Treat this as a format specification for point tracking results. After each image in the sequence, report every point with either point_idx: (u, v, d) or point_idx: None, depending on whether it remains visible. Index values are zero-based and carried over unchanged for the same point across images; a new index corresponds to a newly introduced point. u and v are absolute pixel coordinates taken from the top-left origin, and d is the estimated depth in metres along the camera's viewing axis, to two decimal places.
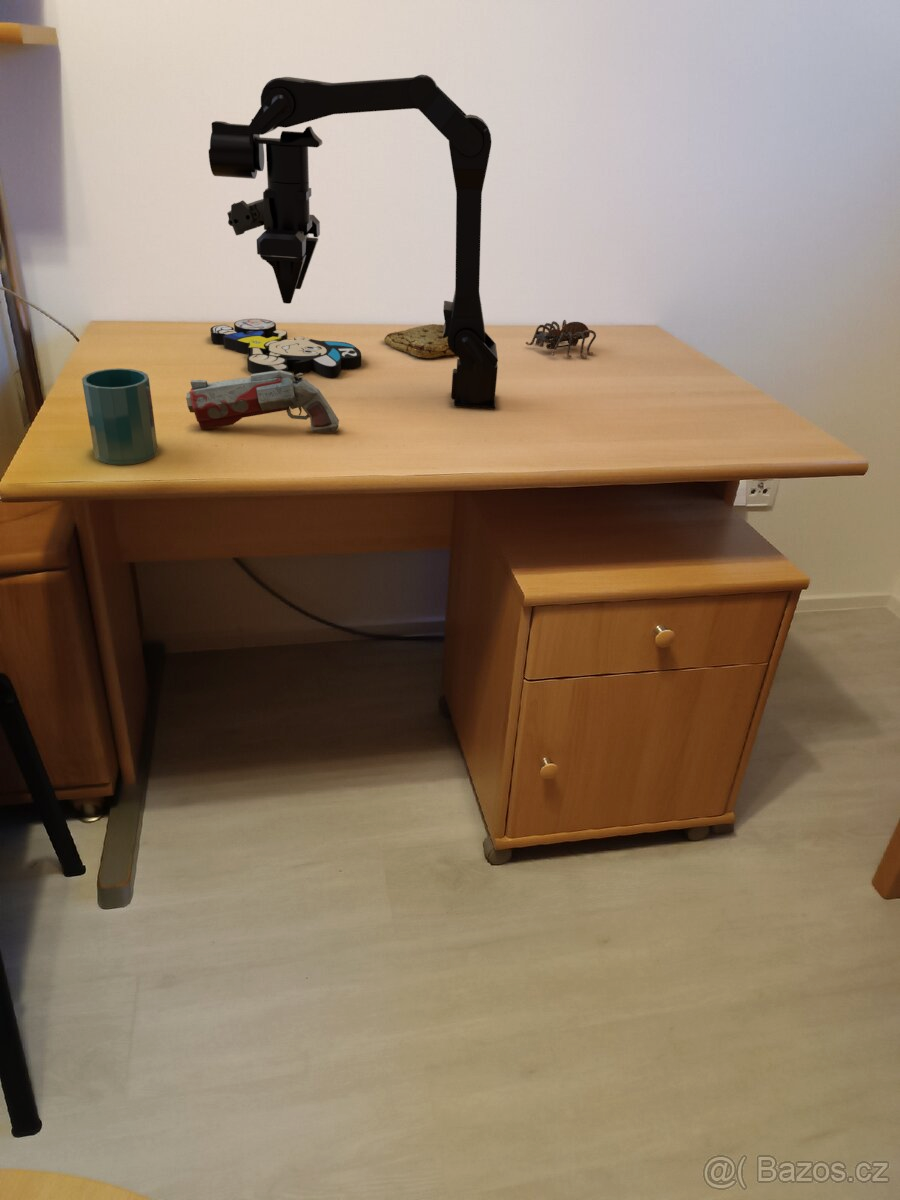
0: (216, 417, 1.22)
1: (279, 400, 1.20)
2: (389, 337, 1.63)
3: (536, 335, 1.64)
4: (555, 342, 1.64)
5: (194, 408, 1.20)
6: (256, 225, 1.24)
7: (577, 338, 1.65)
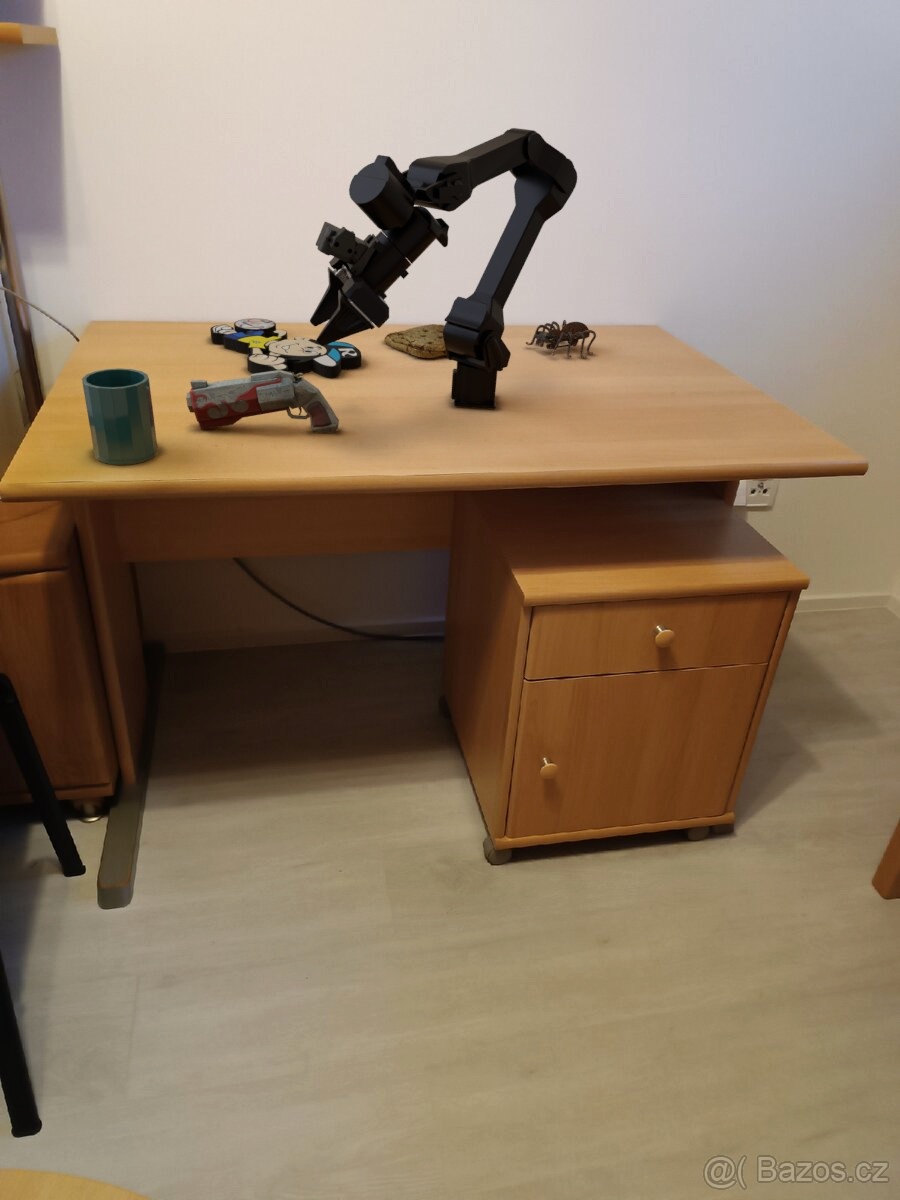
0: (216, 417, 1.22)
1: (279, 400, 1.20)
2: (389, 337, 1.63)
3: (536, 335, 1.64)
4: (555, 342, 1.64)
5: (194, 408, 1.20)
6: (345, 259, 1.13)
7: (577, 338, 1.65)
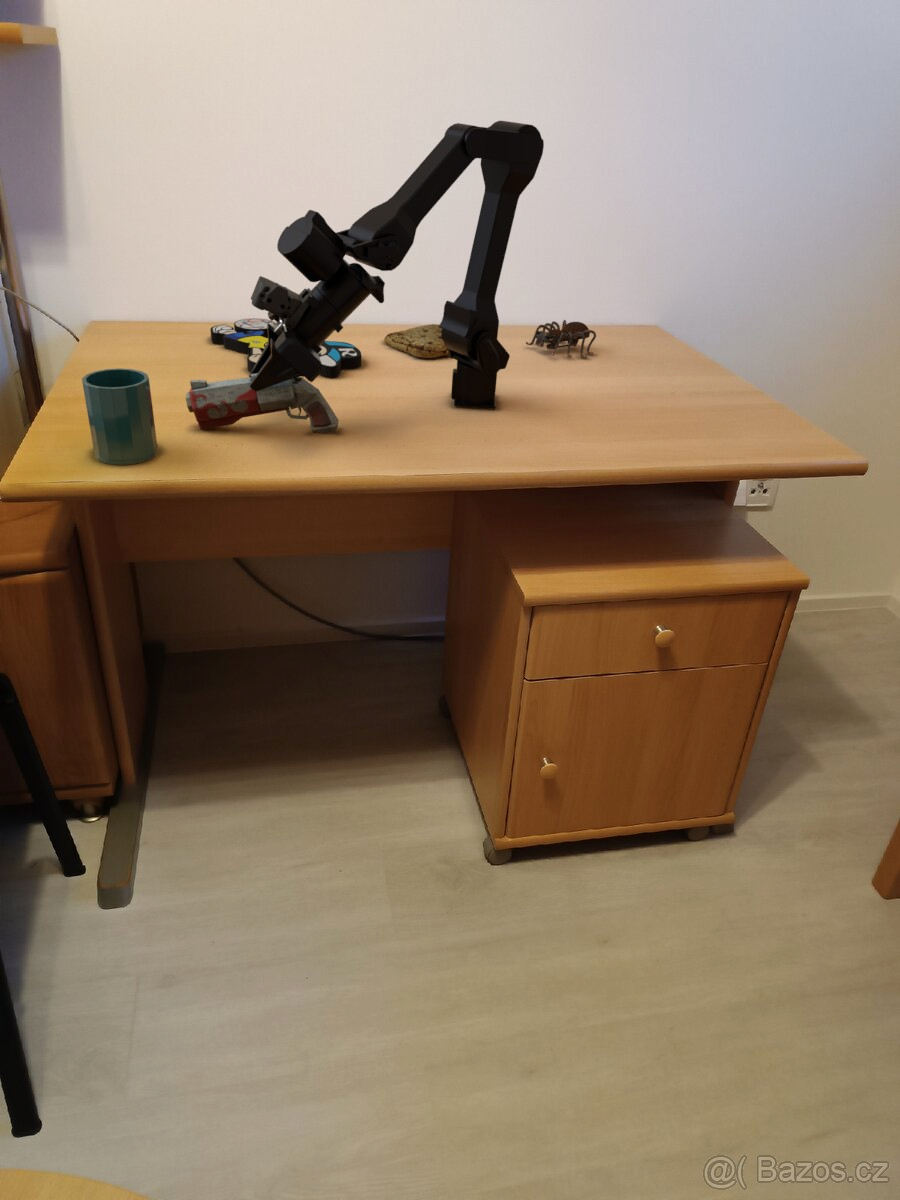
0: (216, 417, 1.22)
1: (279, 400, 1.20)
2: (389, 337, 1.63)
3: (536, 335, 1.64)
4: (555, 342, 1.64)
5: (194, 408, 1.20)
6: (279, 314, 1.14)
7: (577, 338, 1.65)
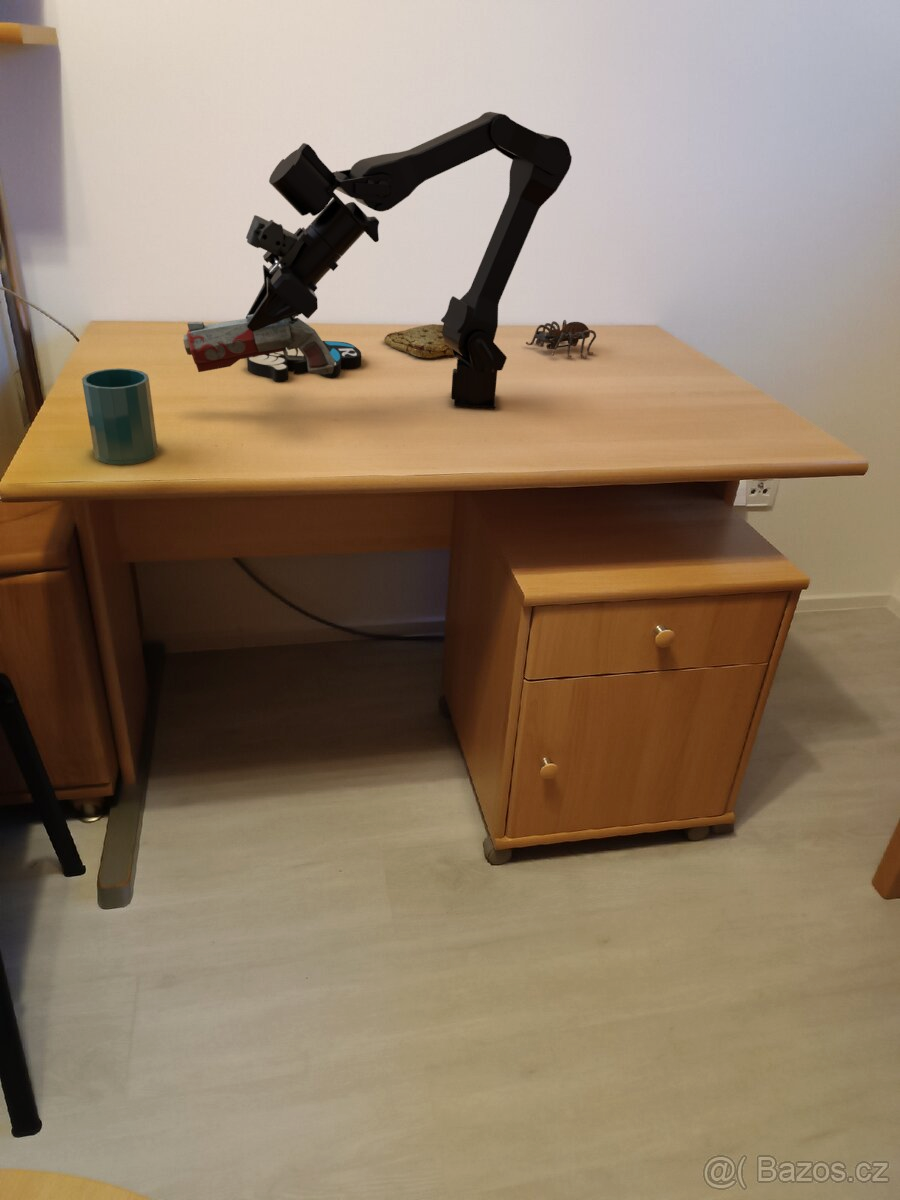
0: (213, 359, 1.23)
1: (276, 340, 1.21)
2: (389, 337, 1.63)
3: (536, 335, 1.64)
4: (555, 342, 1.64)
5: (191, 350, 1.21)
6: (274, 252, 1.16)
7: (577, 338, 1.65)
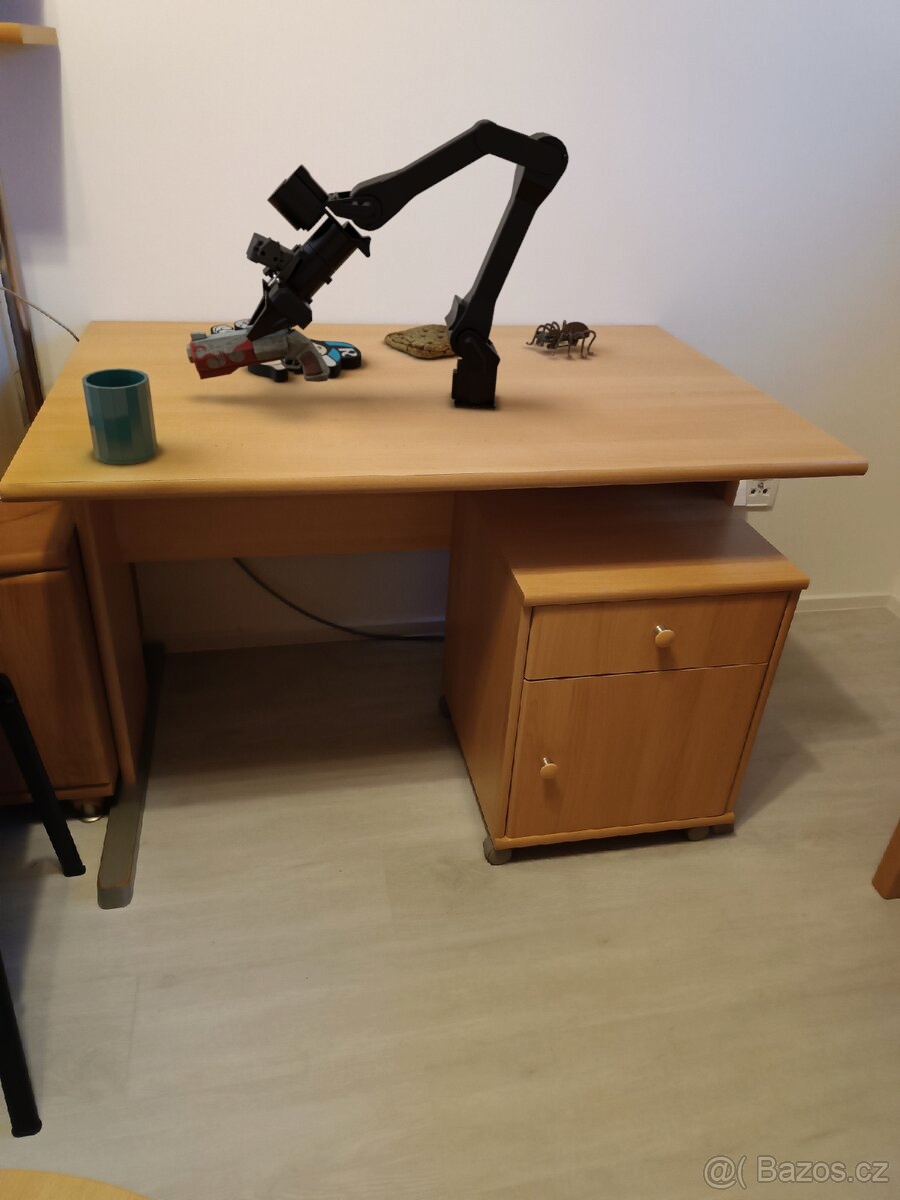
0: (215, 367, 1.30)
1: (273, 350, 1.29)
2: (389, 337, 1.63)
3: (536, 335, 1.64)
4: (555, 342, 1.64)
5: (194, 358, 1.29)
6: (272, 267, 1.23)
7: (577, 338, 1.65)
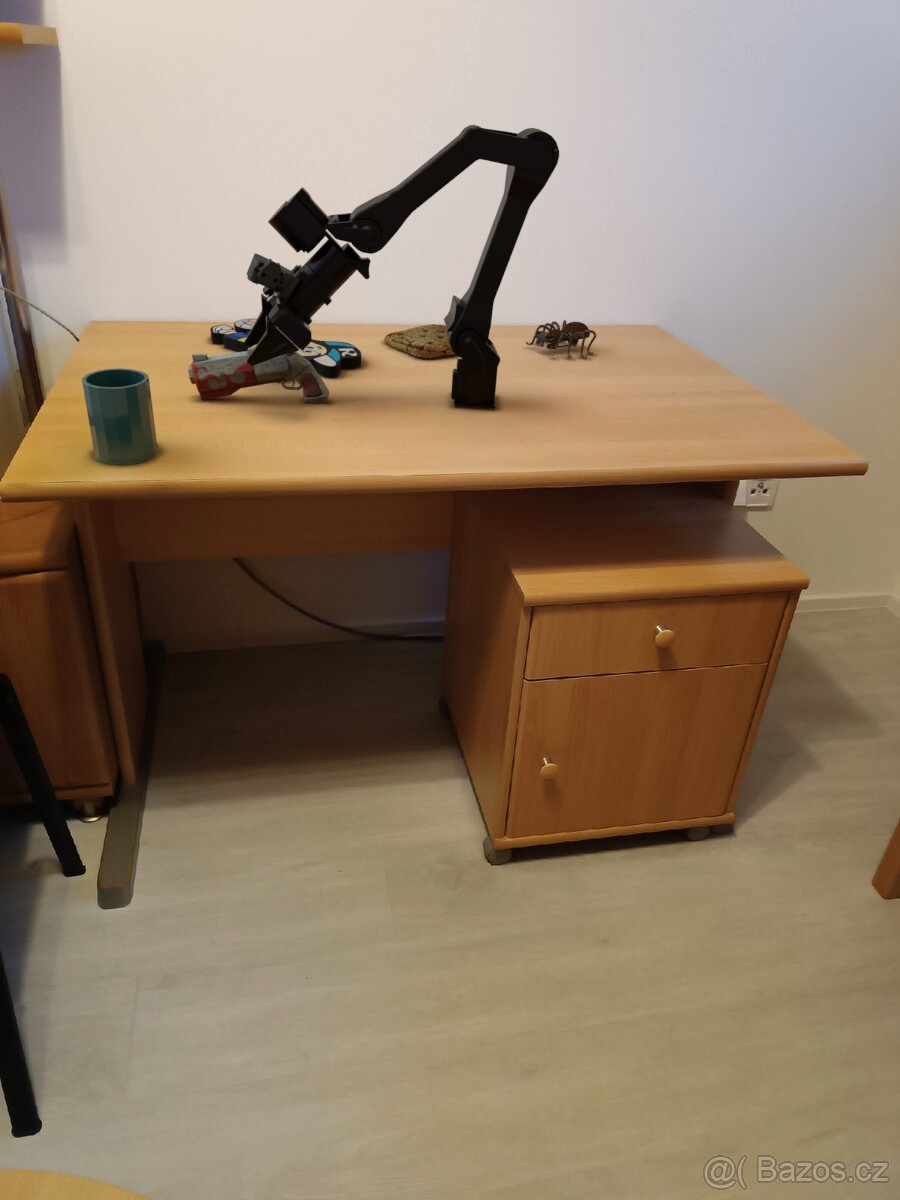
0: (216, 388, 1.32)
1: (274, 372, 1.31)
2: (389, 337, 1.63)
3: (536, 335, 1.64)
4: (555, 342, 1.64)
5: (195, 379, 1.30)
6: (272, 288, 1.24)
7: (577, 338, 1.65)
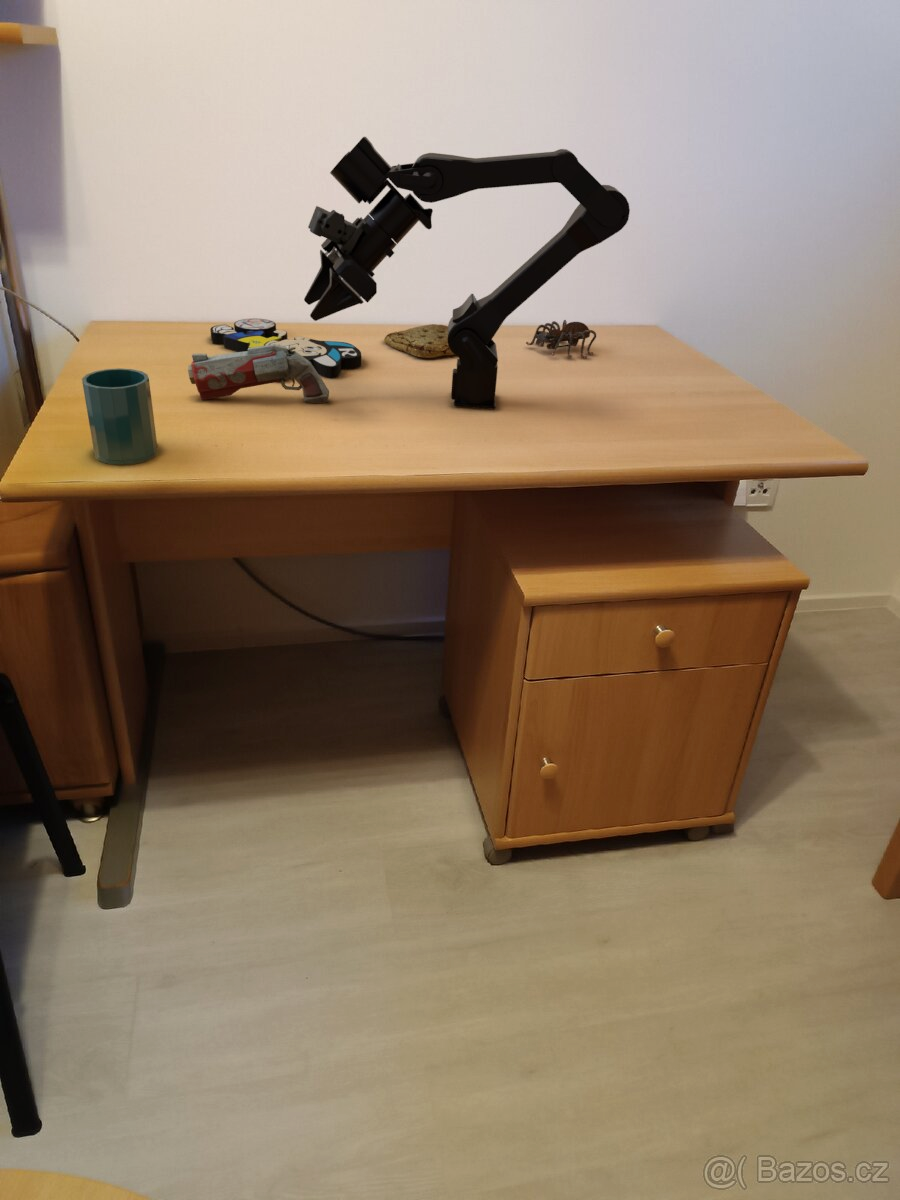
0: (216, 388, 1.32)
1: (274, 372, 1.31)
2: (389, 337, 1.63)
3: (536, 335, 1.64)
4: (555, 342, 1.64)
5: (195, 379, 1.30)
6: (335, 240, 1.23)
7: (577, 338, 1.65)
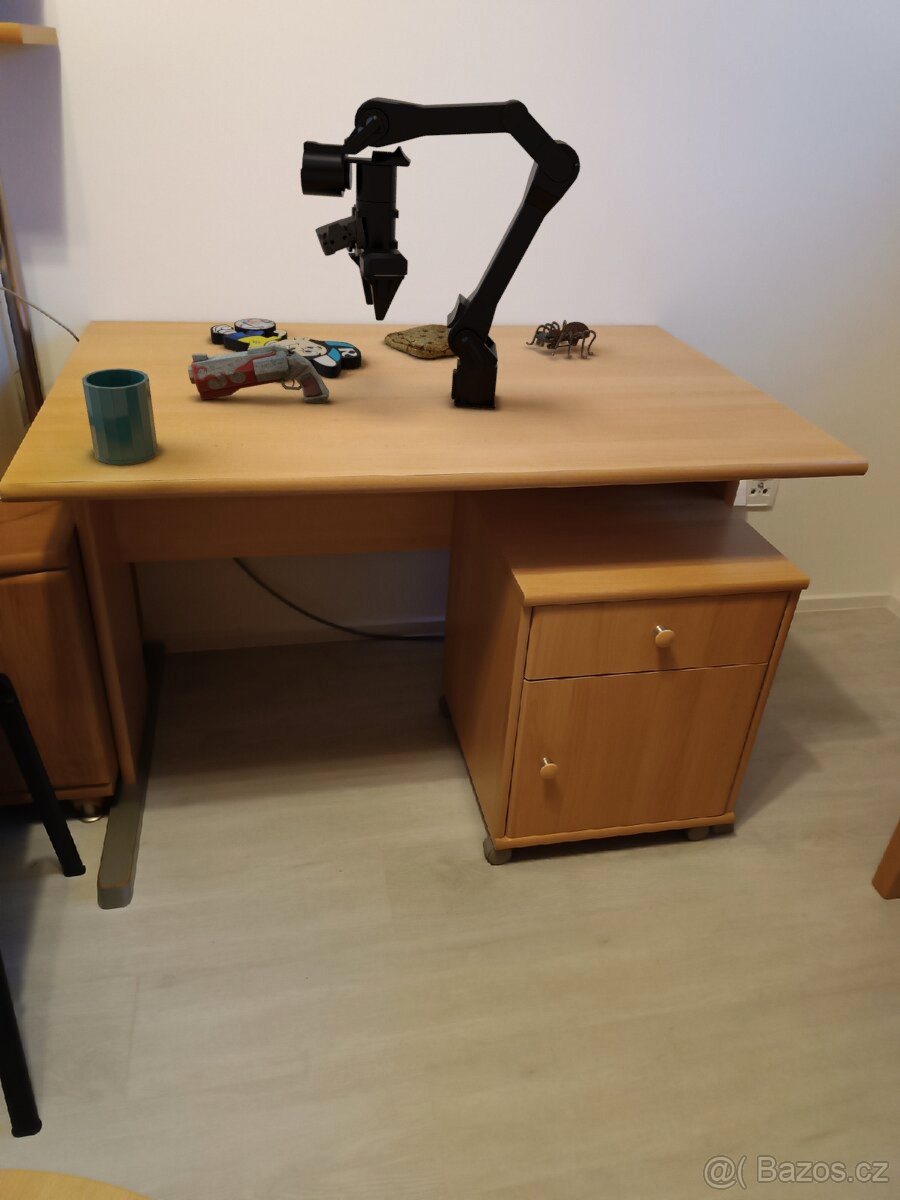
0: (216, 388, 1.32)
1: (274, 372, 1.31)
2: (389, 337, 1.63)
3: (536, 335, 1.64)
4: (555, 342, 1.64)
5: (195, 379, 1.30)
6: (348, 245, 1.24)
7: (577, 338, 1.65)
